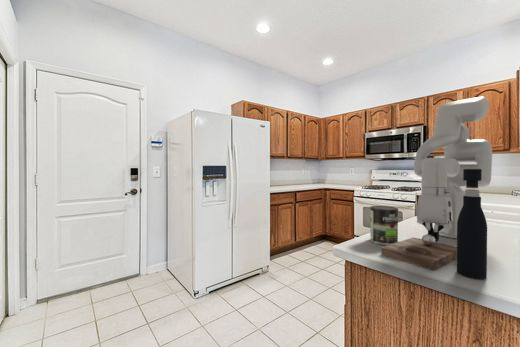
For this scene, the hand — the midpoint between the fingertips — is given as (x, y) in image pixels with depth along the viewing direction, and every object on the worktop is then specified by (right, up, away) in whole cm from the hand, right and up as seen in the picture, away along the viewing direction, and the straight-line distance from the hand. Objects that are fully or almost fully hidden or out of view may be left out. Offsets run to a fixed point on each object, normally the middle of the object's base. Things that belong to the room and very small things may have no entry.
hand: (433, 241), depth 88 cm
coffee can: (-12, -3, +11) cm, 17 cm away
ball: (-3, +1, -2) cm, 4 cm away
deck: (-7, -3, -4) cm, 9 cm away
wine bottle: (-4, -4, -20) cm, 20 cm away
